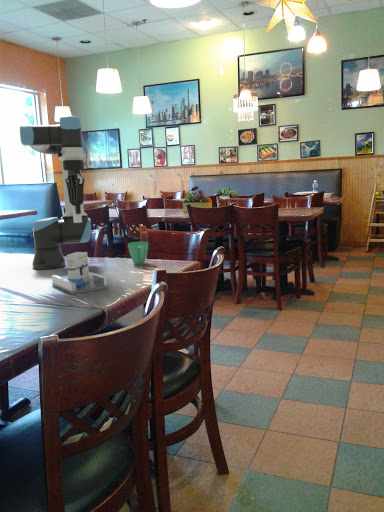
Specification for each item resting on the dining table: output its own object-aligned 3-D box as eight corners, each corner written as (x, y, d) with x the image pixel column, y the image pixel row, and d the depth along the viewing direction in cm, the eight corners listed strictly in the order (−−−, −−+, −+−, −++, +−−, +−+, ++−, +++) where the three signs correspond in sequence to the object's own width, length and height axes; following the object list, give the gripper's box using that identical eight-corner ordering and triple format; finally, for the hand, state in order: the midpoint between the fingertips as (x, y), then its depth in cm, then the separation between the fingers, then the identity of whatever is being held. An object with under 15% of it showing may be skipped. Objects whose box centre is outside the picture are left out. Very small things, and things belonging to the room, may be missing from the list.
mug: (127, 262, 218) (126, 242, 217) (146, 261, 221) (145, 241, 220) (132, 268, 205) (131, 246, 203) (153, 266, 208) (152, 245, 206)
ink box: (79, 286, 167) (77, 255, 165) (68, 286, 168) (65, 255, 166) (90, 281, 175) (88, 251, 173) (78, 280, 177) (76, 251, 175)
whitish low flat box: (52, 285, 176) (51, 275, 175) (85, 279, 184) (85, 270, 183) (72, 294, 160) (71, 283, 159) (107, 288, 168) (107, 277, 168)
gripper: (57, 160, 169) (62, 222, 174) (69, 158, 159) (75, 224, 163) (75, 160, 174) (80, 220, 178) (89, 158, 163) (94, 222, 168)
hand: (77, 222), depth 171 cm, fingers closed
